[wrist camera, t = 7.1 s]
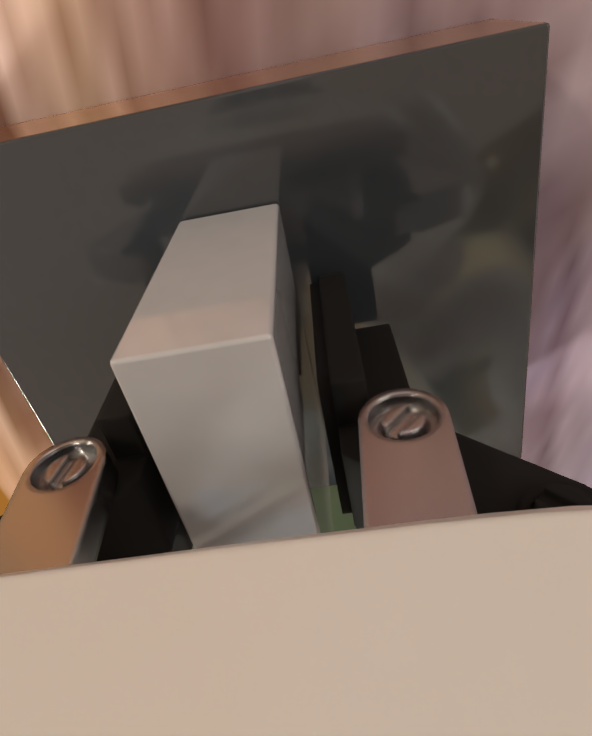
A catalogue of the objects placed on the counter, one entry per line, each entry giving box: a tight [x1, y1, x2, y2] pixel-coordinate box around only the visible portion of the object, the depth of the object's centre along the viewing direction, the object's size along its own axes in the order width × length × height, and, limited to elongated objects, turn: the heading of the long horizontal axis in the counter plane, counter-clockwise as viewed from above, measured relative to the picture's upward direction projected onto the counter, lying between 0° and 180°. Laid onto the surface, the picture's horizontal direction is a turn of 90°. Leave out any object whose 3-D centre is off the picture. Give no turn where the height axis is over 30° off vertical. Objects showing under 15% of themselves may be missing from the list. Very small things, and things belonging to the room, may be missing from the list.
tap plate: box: [0, 19, 550, 486], centre depth 13 cm, size 12×10×3 cm
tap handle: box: [110, 204, 334, 549], centre depth 10 cm, size 6×2×5 cm, turn 10°
